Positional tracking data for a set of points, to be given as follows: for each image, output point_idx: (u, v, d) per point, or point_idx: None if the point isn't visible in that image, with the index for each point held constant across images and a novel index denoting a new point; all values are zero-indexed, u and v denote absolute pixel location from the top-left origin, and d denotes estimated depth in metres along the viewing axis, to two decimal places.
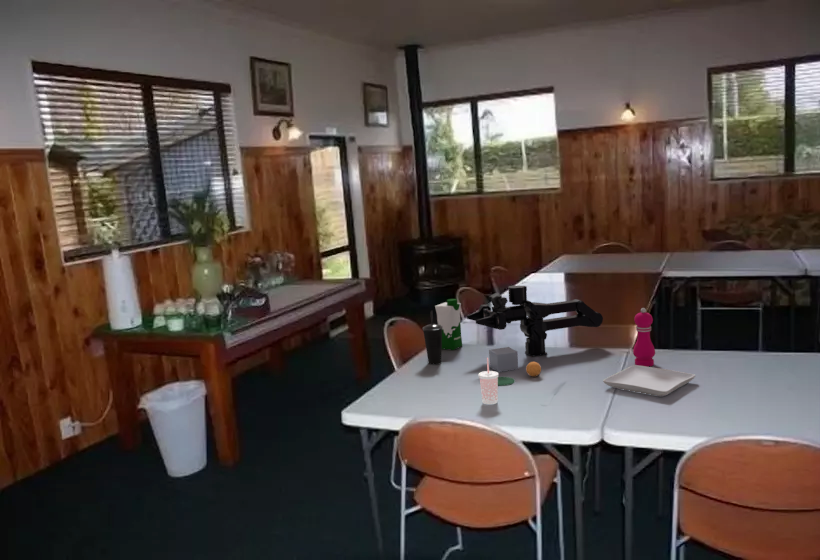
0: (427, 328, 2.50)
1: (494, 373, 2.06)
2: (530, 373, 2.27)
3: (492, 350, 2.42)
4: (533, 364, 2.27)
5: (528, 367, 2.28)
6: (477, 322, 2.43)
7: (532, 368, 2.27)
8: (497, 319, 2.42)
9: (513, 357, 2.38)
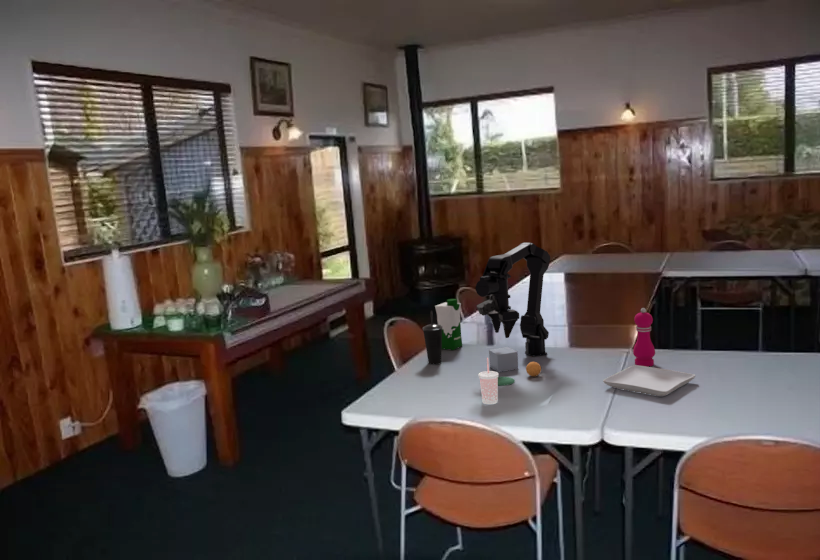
0: (427, 328, 2.50)
1: (494, 373, 2.06)
2: (530, 373, 2.27)
3: (492, 350, 2.42)
4: (533, 364, 2.27)
5: (528, 367, 2.28)
6: (507, 336, 2.35)
7: (532, 368, 2.27)
8: None
9: (513, 357, 2.38)
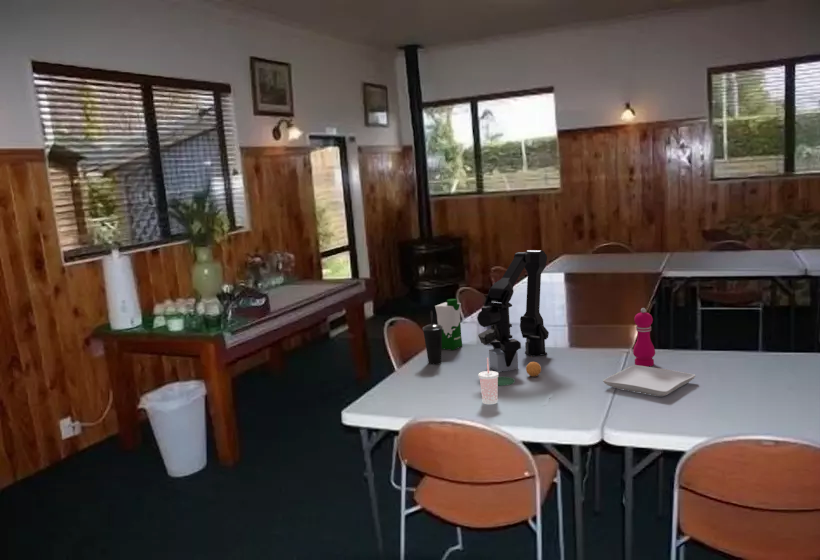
0: (427, 328, 2.50)
1: (494, 373, 2.06)
2: (530, 373, 2.27)
3: (492, 350, 2.42)
4: (533, 364, 2.27)
5: (528, 367, 2.28)
6: (509, 365, 2.37)
7: (532, 368, 2.27)
8: None
9: None
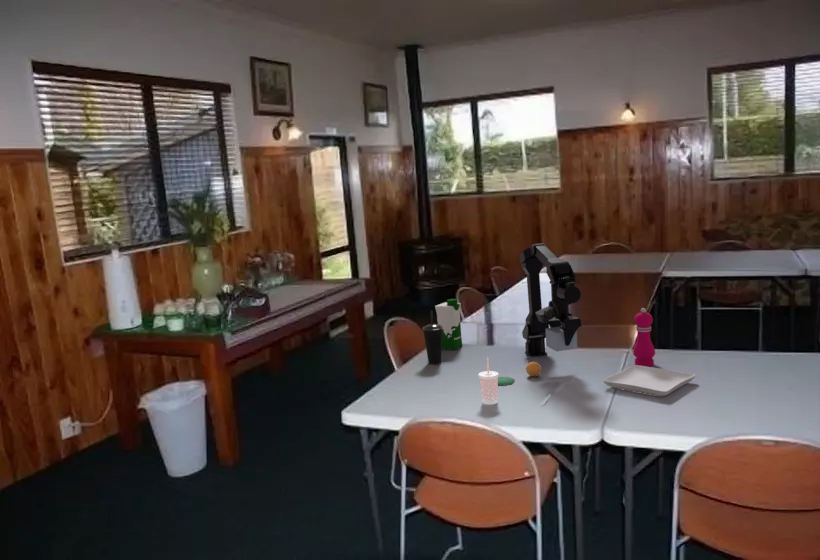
0: (427, 328, 2.50)
1: (494, 373, 2.06)
2: (530, 373, 2.27)
3: (549, 329, 2.31)
4: (533, 364, 2.27)
5: (528, 367, 2.28)
6: (568, 344, 2.27)
7: (532, 368, 2.27)
8: None
9: None
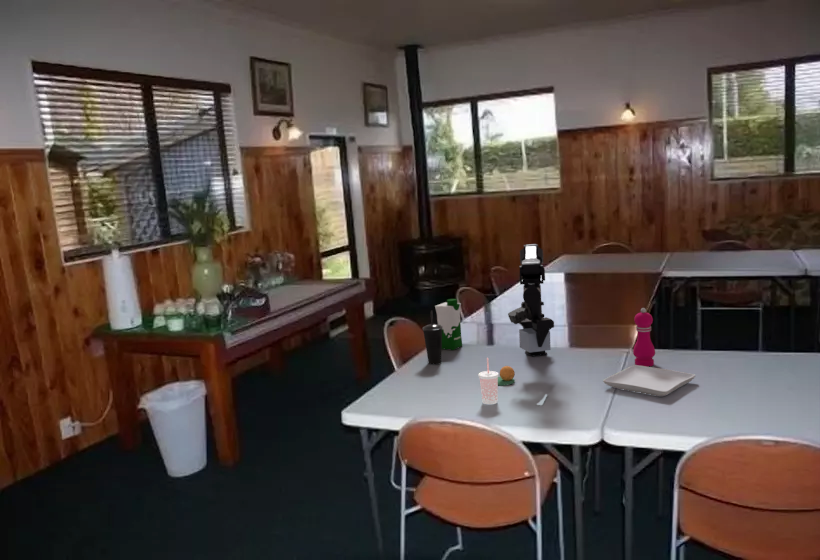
0: (427, 328, 2.50)
1: (494, 373, 2.06)
2: (510, 368, 2.25)
3: (523, 330, 2.29)
4: (513, 376, 2.26)
5: (513, 370, 2.26)
6: (540, 345, 2.24)
7: (513, 373, 2.25)
8: None
9: None
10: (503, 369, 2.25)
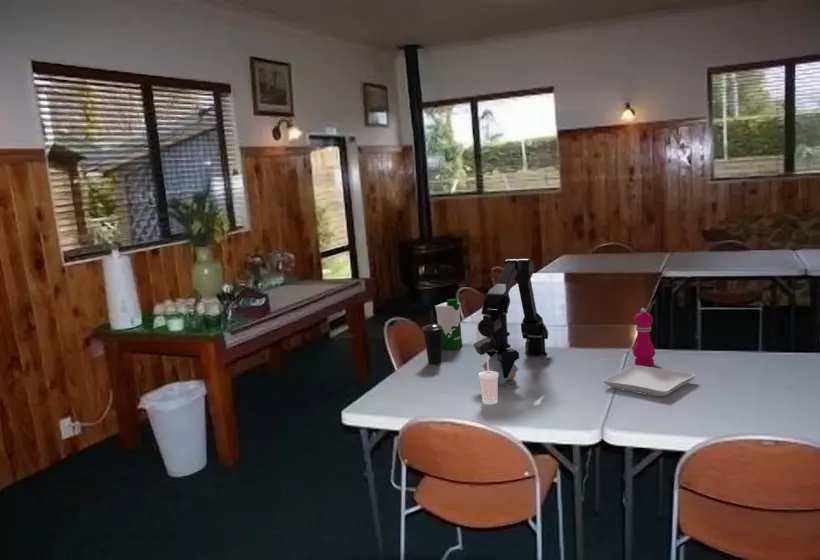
0: (427, 328, 2.50)
1: (494, 373, 2.06)
2: None
3: (485, 365, 2.27)
4: (514, 377, 2.26)
5: None
6: (506, 376, 2.22)
7: (514, 374, 2.25)
8: None
9: None
10: None
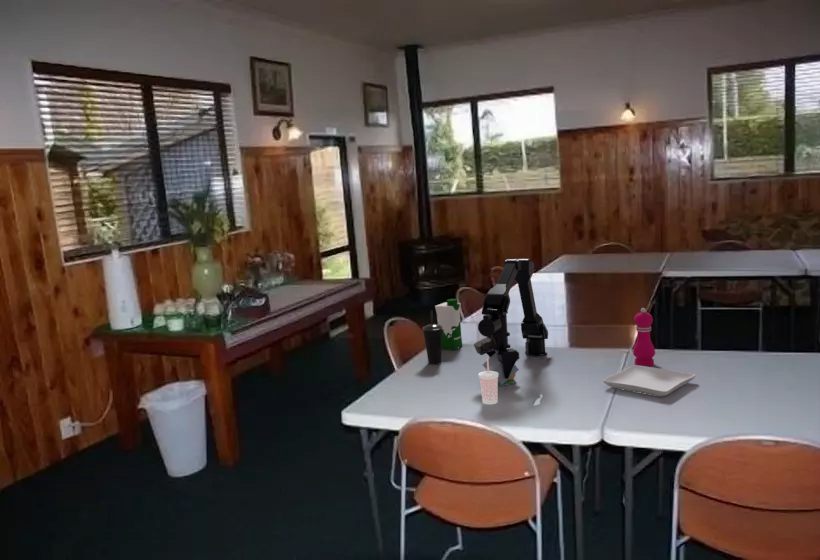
0: (427, 328, 2.50)
1: (494, 373, 2.06)
2: None
3: (485, 364, 2.26)
4: (514, 377, 2.26)
5: None
6: (507, 377, 2.21)
7: (514, 374, 2.25)
8: None
9: None
10: None
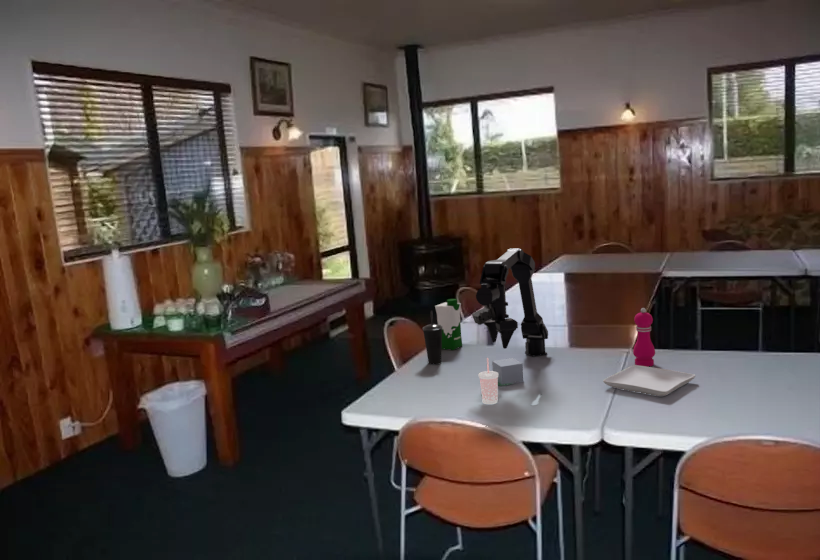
0: (427, 328, 2.50)
1: (494, 373, 2.06)
2: None
3: (495, 361, 2.28)
4: None
5: None
6: (505, 347, 2.20)
7: None
8: None
9: (518, 369, 2.23)
10: None
